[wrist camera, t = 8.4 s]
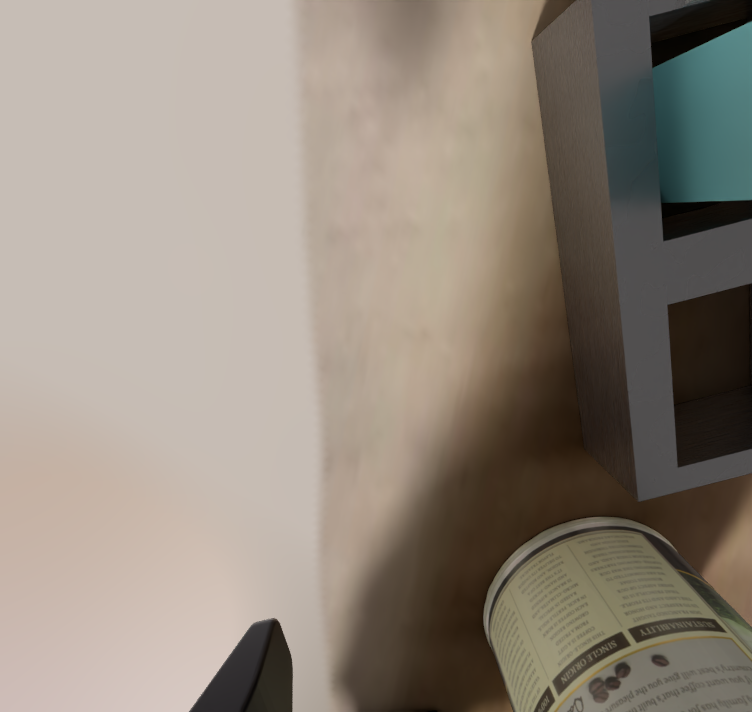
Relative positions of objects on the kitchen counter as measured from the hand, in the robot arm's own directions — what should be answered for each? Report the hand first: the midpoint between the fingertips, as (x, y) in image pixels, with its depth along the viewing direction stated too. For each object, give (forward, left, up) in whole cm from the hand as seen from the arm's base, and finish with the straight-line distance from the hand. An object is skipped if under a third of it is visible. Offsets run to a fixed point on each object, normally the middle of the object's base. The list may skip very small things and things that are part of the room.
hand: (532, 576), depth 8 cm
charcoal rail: (+2, -11, -12) cm, 16 cm away
